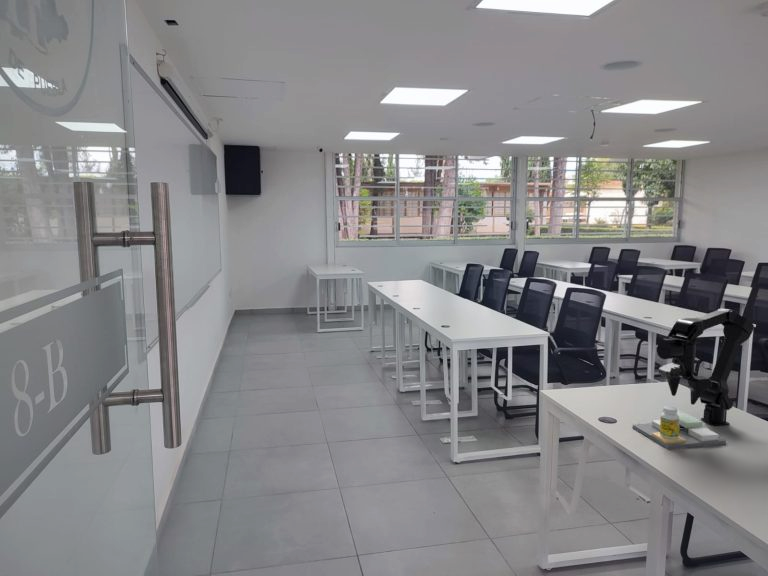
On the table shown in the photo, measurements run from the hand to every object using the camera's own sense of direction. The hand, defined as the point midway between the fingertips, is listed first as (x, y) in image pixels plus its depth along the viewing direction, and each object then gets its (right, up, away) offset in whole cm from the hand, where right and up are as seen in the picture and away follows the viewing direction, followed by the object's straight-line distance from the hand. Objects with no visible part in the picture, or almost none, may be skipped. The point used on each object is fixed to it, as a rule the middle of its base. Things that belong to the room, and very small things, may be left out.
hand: (682, 399), depth 182 cm
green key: (0, -9, +1) cm, 9 cm away
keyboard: (-5, -11, -5) cm, 13 cm away
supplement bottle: (-10, -10, -10) cm, 17 cm away
